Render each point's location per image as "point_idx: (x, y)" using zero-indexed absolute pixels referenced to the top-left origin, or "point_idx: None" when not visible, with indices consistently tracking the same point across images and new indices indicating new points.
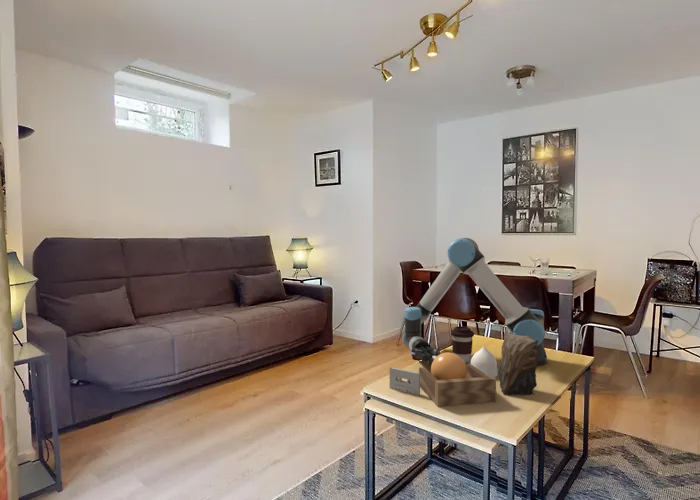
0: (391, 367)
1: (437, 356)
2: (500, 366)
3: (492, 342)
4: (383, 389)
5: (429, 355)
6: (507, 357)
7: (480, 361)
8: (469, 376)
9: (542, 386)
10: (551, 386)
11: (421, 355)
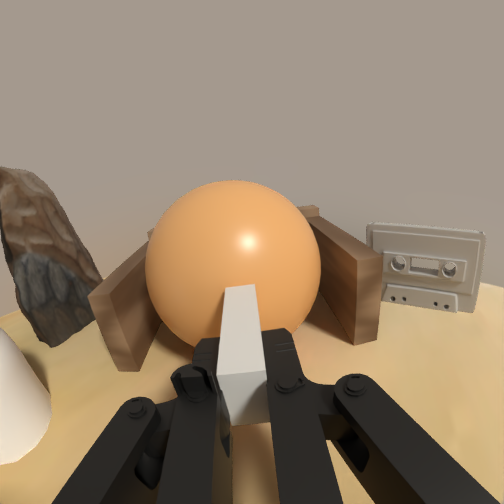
0: (482, 233)
1: (279, 197)
2: (45, 275)
3: None
4: (481, 298)
5: (295, 397)
6: (63, 216)
7: (6, 337)
8: (135, 320)
9: (12, 323)
10: (3, 321)
11: (411, 432)
